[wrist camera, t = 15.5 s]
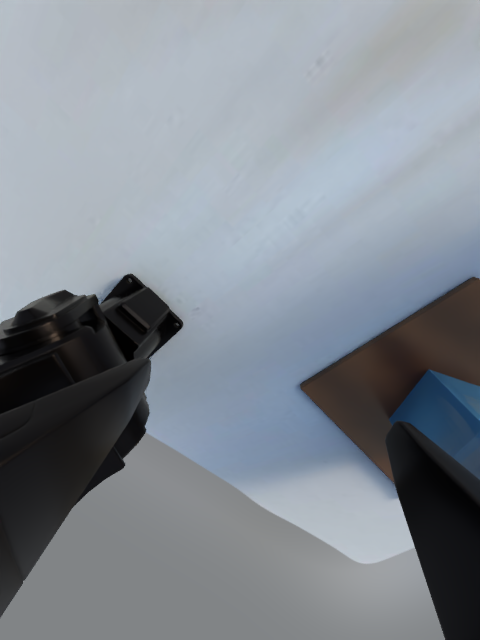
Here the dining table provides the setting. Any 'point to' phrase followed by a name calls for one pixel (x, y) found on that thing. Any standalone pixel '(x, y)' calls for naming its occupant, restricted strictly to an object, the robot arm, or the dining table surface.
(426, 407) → the perfume bottle
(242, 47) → the dining table surface
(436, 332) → the walnut board
